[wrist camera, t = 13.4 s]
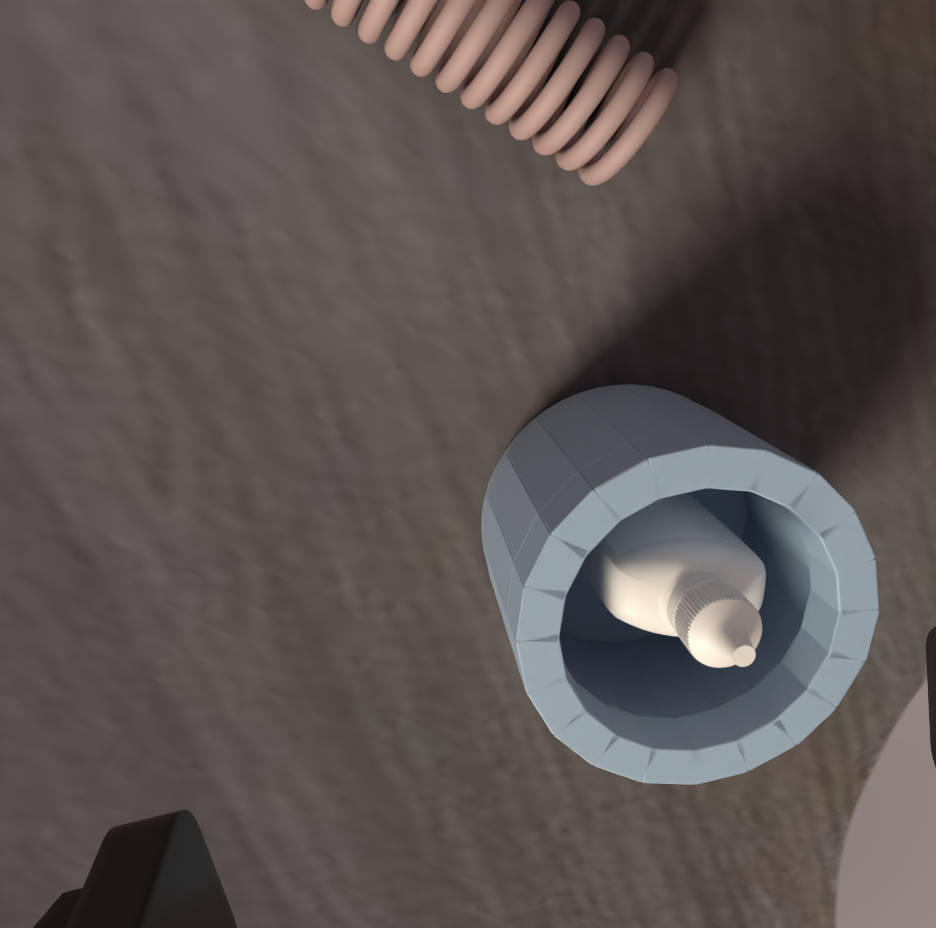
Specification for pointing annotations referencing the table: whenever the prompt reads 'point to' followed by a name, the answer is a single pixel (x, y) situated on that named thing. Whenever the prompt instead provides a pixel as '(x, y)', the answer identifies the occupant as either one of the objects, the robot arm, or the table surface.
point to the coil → (528, 72)
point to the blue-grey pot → (655, 655)
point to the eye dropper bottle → (682, 580)
